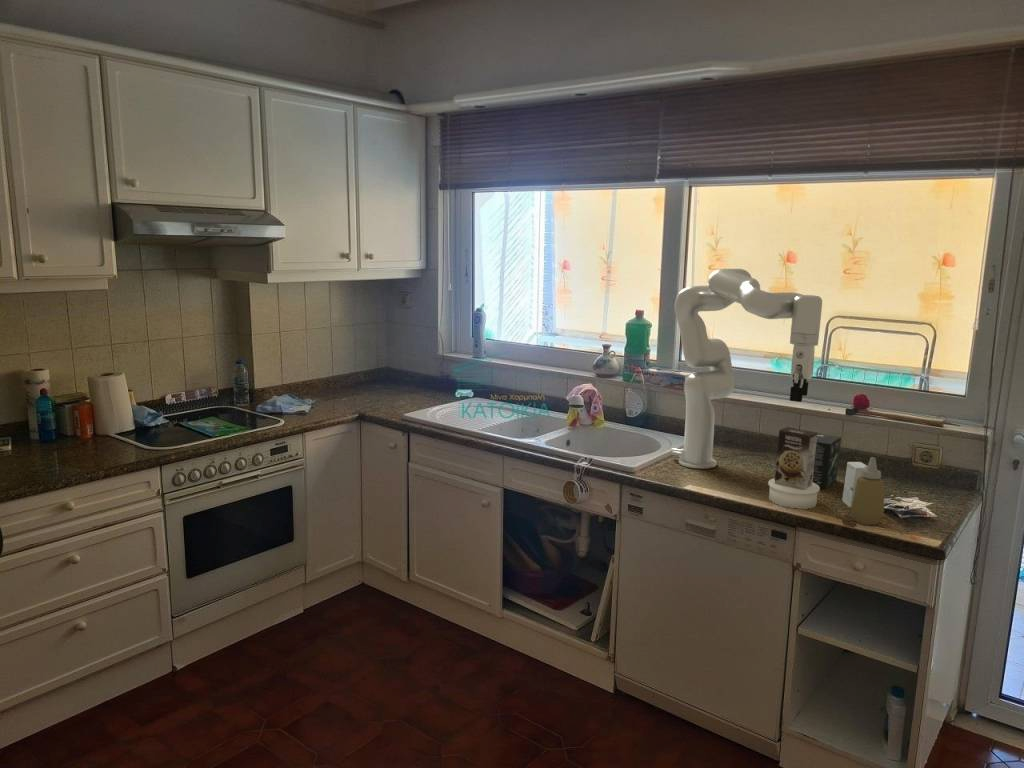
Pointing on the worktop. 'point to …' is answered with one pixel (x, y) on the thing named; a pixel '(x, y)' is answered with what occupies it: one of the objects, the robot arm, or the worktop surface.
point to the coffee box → (795, 458)
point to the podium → (793, 495)
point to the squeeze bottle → (869, 496)
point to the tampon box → (826, 460)
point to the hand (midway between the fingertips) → (798, 398)
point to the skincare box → (852, 480)
